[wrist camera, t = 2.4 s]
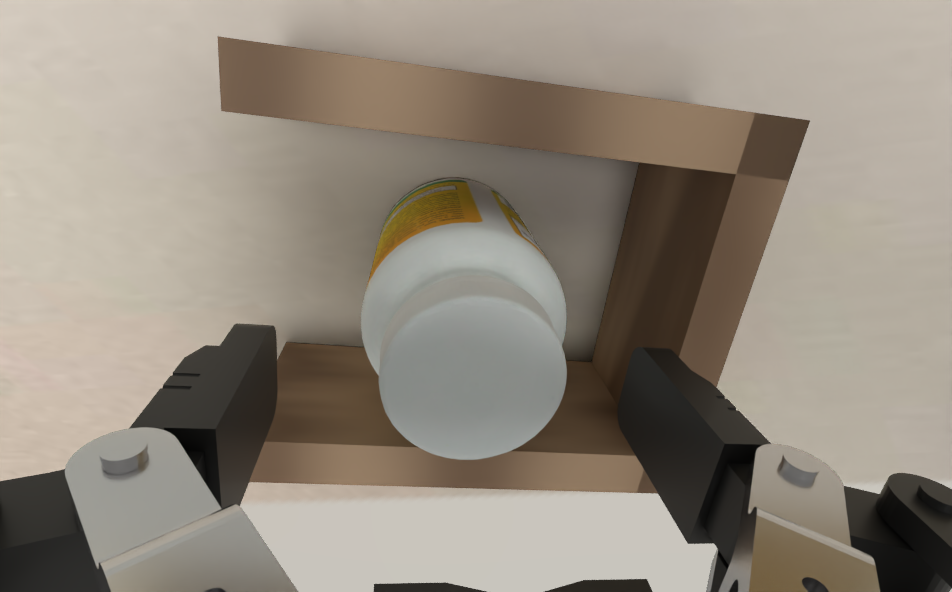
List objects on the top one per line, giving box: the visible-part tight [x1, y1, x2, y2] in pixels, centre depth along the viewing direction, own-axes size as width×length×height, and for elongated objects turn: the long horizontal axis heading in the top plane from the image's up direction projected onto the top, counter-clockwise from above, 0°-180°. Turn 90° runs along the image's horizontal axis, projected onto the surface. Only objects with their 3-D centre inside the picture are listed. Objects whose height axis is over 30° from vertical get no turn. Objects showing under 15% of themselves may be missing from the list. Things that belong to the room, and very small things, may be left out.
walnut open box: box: [218, 37, 810, 493], centre depth 17 cm, size 14×12×6 cm
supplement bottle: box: [361, 178, 567, 460], centre depth 15 cm, size 5×5×10 cm
